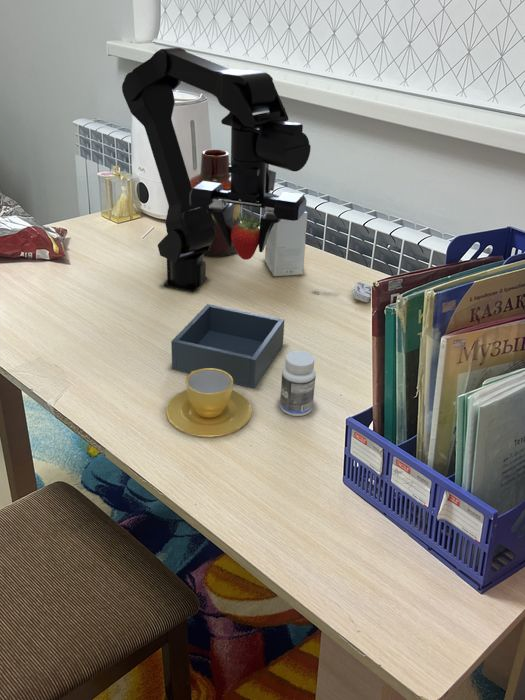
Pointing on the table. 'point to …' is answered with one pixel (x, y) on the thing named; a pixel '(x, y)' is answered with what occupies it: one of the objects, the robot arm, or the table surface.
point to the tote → (229, 343)
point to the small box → (287, 247)
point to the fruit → (245, 237)
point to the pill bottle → (298, 383)
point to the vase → (217, 171)
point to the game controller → (361, 291)
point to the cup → (208, 405)
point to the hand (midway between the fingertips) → (246, 248)
